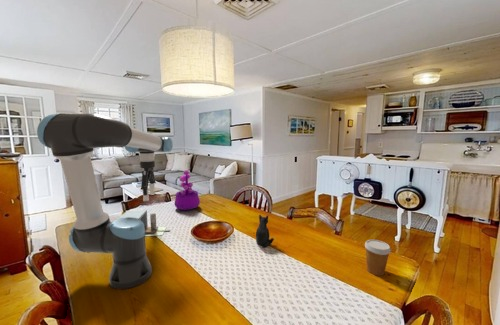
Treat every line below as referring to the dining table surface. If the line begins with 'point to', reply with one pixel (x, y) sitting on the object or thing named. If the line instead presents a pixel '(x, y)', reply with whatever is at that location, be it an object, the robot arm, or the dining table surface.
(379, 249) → the disposable coffee cup
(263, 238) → the figurine
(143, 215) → the tunnel
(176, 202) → the decorative plant
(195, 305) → the dining table surface
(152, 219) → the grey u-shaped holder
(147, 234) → the mat
